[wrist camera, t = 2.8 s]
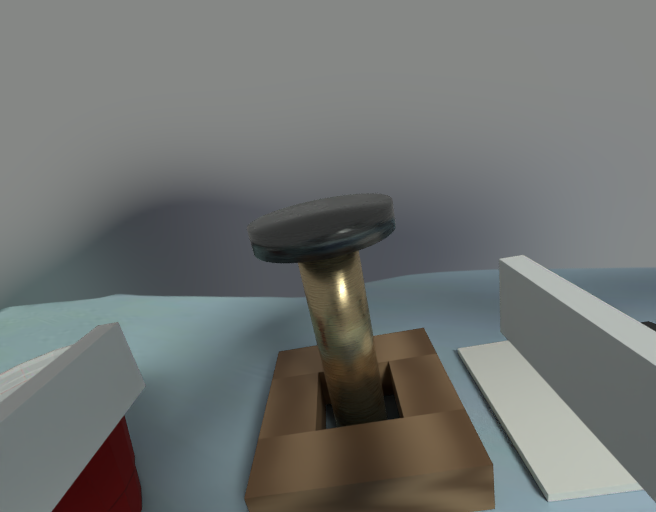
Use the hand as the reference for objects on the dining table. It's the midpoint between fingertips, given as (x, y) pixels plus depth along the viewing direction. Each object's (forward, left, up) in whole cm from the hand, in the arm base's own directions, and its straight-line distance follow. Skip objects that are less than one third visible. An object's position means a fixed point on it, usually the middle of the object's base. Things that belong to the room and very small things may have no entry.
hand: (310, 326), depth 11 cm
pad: (-17, -10, -16) cm, 26 cm away
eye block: (0, -10, -16) cm, 19 cm away
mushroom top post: (0, -10, -16) cm, 19 cm away
